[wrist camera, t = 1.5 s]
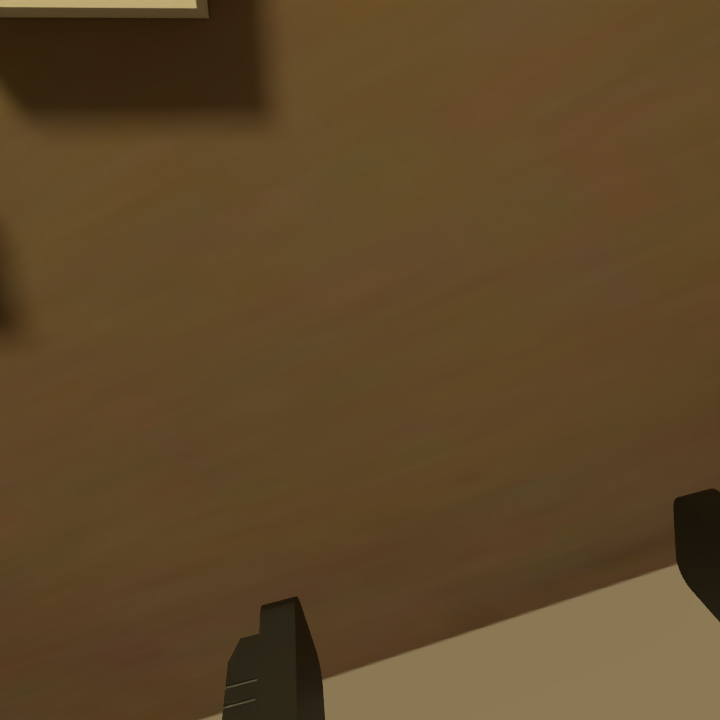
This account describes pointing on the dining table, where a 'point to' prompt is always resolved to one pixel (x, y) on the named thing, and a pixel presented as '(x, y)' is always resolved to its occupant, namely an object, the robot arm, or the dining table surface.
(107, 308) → the dining table surface
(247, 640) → the robot arm
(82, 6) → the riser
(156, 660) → the dining table surface
